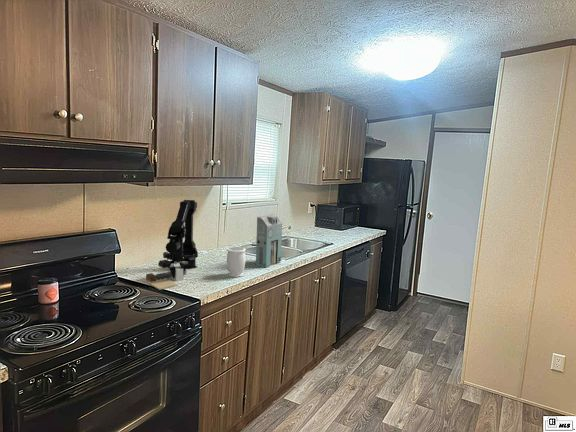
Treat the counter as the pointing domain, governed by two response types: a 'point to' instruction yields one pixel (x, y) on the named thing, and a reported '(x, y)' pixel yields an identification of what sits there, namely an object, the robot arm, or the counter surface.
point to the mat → (162, 284)
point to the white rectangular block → (178, 274)
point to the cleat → (150, 277)
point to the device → (268, 240)
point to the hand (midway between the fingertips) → (177, 277)
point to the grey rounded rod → (165, 275)
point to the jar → (236, 261)
